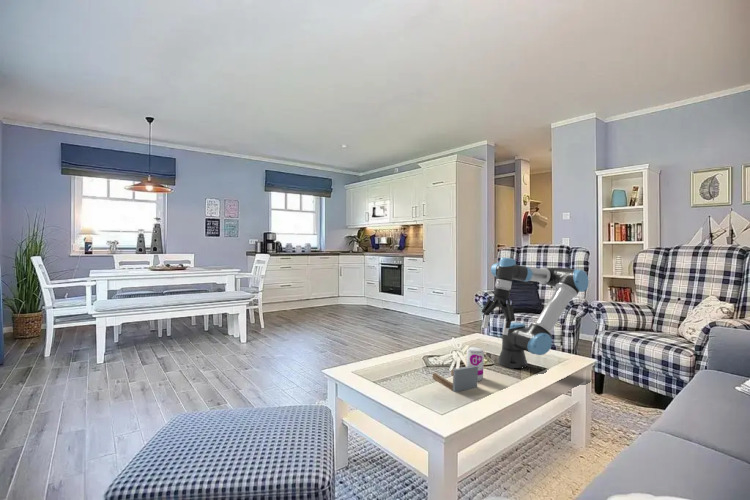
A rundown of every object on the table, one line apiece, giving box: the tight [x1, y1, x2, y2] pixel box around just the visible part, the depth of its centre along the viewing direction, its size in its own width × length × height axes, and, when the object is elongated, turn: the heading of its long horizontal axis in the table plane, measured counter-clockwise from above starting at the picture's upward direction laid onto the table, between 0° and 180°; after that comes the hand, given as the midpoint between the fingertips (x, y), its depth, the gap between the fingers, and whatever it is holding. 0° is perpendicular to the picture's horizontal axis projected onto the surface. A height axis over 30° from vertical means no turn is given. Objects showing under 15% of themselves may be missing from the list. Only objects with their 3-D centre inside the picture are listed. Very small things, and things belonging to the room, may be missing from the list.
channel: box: [432, 369, 454, 392], centre depth 184 cm, size 13×16×2 cm
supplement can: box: [465, 346, 485, 382], centre depth 190 cm, size 8×8×15 cm
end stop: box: [452, 366, 478, 393], centre depth 176 cm, size 13×2×10 cm, turn 116°
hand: (494, 331), depth 187 cm, fingers open, 13 cm apart
